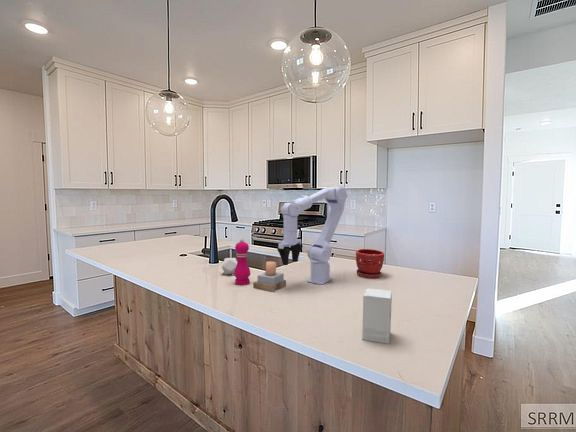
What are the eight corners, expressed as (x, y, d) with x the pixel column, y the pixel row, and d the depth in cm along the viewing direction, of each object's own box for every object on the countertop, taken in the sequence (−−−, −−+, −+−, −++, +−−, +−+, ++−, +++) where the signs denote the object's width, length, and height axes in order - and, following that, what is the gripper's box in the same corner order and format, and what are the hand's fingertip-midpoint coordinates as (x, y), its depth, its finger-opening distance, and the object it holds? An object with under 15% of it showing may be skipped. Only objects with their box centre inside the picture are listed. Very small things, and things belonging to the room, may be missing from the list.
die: (233, 278, 149) (243, 260, 152) (217, 269, 148) (227, 252, 152) (232, 280, 156) (242, 263, 160) (217, 271, 156) (227, 254, 159)
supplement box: (389, 344, 84) (390, 298, 83) (361, 339, 87) (362, 295, 86) (391, 332, 91) (392, 290, 90) (365, 328, 94) (366, 287, 93)
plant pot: (355, 278, 146) (355, 253, 145) (355, 271, 159) (356, 248, 158) (384, 280, 143) (385, 254, 142) (382, 273, 156) (383, 249, 155)
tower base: (267, 283, 141) (267, 276, 141) (286, 287, 135) (286, 280, 135) (253, 289, 132) (253, 282, 132) (272, 293, 127) (272, 286, 127)
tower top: (268, 277, 139) (268, 271, 138) (283, 280, 135) (283, 273, 135) (257, 282, 132) (257, 275, 132) (273, 285, 128) (273, 278, 128)
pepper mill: (247, 285, 135) (246, 239, 133) (231, 284, 137) (230, 239, 135) (252, 281, 142) (252, 237, 141) (237, 280, 144) (237, 236, 142)
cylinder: (270, 272, 136) (270, 260, 136) (277, 274, 133) (278, 262, 133) (263, 273, 133) (263, 262, 132) (270, 276, 130) (271, 264, 130)
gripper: (291, 228, 140) (291, 258, 141) (272, 232, 128) (272, 265, 129) (305, 229, 136) (305, 260, 137) (286, 233, 124) (286, 267, 125)
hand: (290, 263), depth 133 cm, fingers open, 7 cm apart
